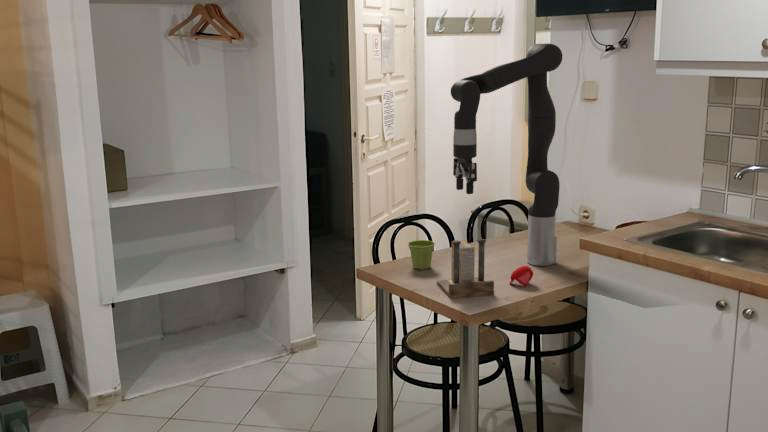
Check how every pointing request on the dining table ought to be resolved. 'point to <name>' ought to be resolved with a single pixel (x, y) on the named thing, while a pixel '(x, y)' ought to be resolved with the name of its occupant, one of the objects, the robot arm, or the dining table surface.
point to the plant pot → (421, 253)
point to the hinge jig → (469, 288)
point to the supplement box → (465, 262)
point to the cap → (522, 275)
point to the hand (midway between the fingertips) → (464, 191)
